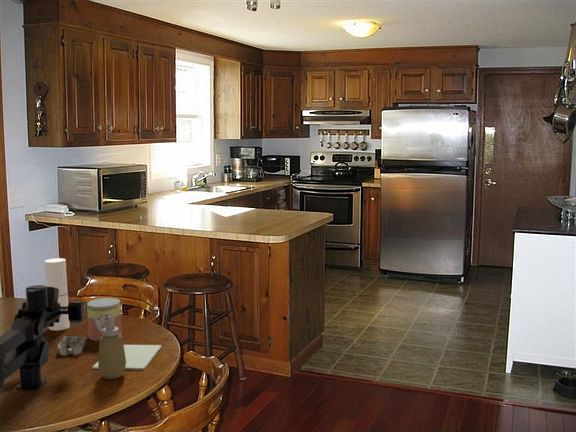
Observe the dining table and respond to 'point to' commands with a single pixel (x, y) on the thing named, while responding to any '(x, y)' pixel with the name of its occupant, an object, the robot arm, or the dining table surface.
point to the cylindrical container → (58, 279)
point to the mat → (138, 356)
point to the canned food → (102, 316)
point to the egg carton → (71, 345)
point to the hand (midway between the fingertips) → (64, 304)
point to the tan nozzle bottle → (111, 352)
